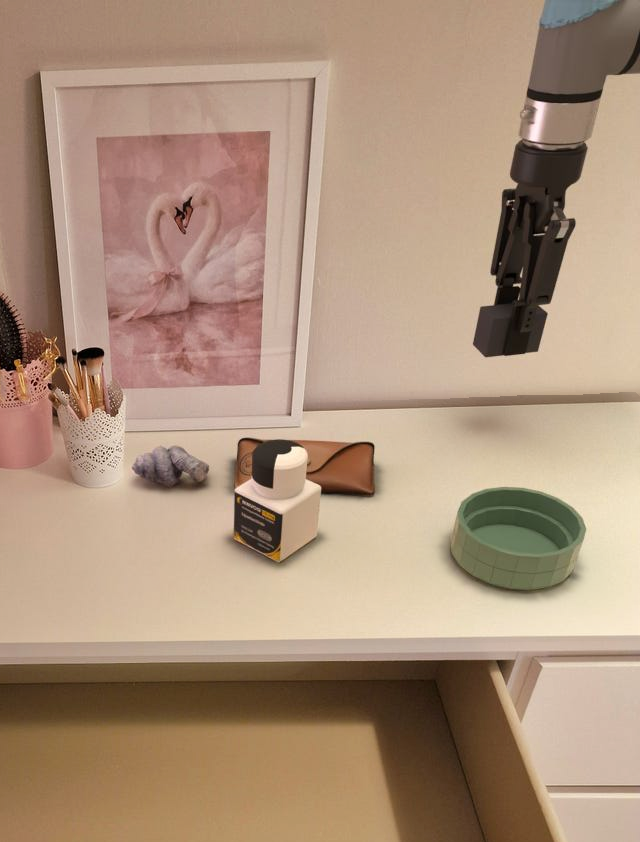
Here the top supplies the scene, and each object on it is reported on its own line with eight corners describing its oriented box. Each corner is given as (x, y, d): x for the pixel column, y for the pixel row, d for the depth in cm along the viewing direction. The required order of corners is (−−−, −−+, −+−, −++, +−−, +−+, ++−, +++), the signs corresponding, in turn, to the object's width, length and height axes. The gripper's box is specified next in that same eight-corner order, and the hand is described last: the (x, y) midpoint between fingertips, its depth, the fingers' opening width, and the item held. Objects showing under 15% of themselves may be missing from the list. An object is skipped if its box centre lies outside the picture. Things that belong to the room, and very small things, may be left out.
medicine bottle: (232, 539, 103) (233, 450, 95) (271, 514, 106) (276, 425, 98) (278, 564, 99) (284, 473, 91) (317, 537, 103) (326, 447, 94)
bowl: (538, 516, 104) (549, 480, 100) (595, 584, 94) (609, 547, 91) (432, 530, 102) (439, 494, 99) (479, 600, 93) (489, 563, 89)
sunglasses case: (232, 490, 110) (235, 436, 108) (234, 488, 116) (237, 437, 115) (378, 494, 108) (382, 439, 106) (371, 492, 114) (375, 440, 113)
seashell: (210, 485, 114) (134, 491, 114) (207, 444, 114) (131, 450, 114) (211, 481, 109) (132, 487, 109) (208, 438, 108) (128, 444, 108)
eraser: (523, 339, 113) (533, 300, 110) (538, 351, 110) (548, 313, 107) (472, 344, 113) (480, 306, 109) (485, 357, 110) (493, 318, 106)
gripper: (487, 126, 101) (451, 322, 117) (557, 164, 89) (506, 378, 105) (548, 120, 102) (504, 316, 118) (626, 157, 89) (565, 371, 105)
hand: (505, 345), depth 111 cm, fingers closed on eraser, 4 cm apart
